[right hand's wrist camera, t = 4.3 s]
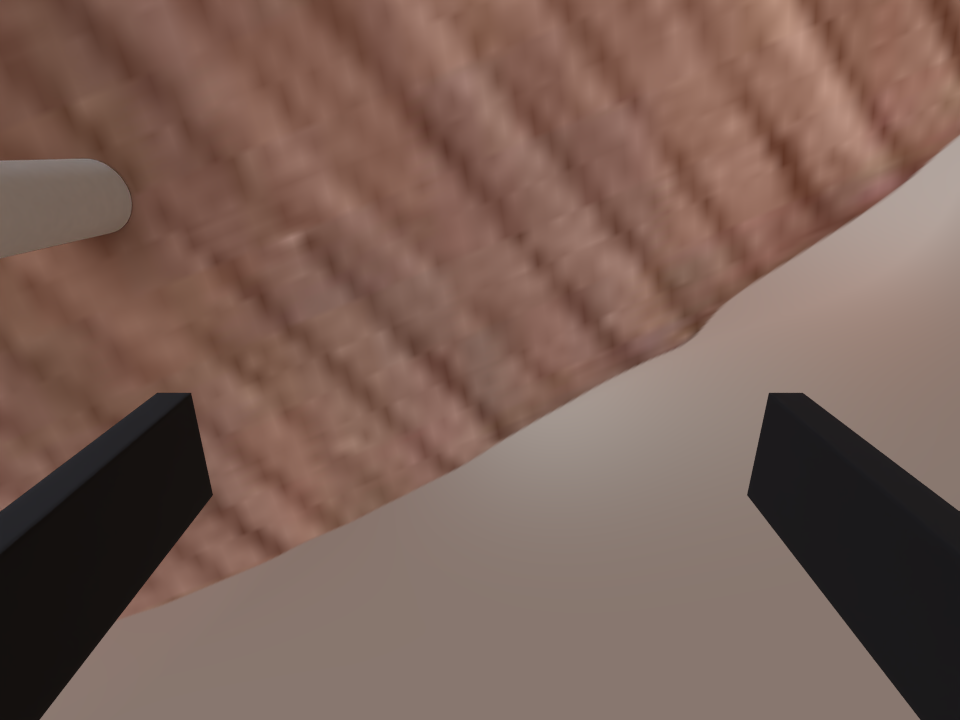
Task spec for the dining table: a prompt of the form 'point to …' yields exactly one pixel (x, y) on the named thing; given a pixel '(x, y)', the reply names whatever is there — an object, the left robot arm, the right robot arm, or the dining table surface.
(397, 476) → the dining table surface
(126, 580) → the right robot arm
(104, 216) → the bottle
